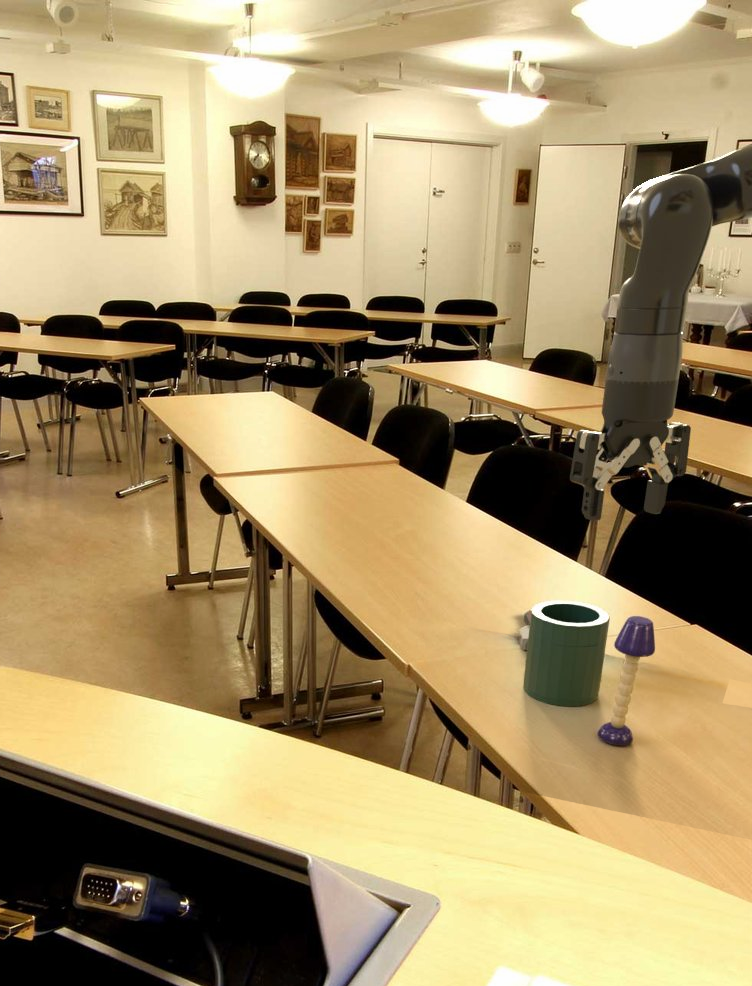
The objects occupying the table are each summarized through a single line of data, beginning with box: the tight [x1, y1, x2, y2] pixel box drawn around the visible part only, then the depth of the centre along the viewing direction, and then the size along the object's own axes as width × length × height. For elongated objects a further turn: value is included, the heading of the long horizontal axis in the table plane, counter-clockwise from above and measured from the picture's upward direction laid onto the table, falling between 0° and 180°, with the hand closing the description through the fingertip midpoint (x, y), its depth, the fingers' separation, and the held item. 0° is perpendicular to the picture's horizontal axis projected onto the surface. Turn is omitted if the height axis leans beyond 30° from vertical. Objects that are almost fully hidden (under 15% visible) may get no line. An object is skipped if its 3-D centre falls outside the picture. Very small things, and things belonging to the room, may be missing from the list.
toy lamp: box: [597, 615, 656, 746], centre depth 114 cm, size 5×5×17 cm
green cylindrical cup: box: [522, 600, 611, 707], centre depth 129 cm, size 10×10×12 cm
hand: (622, 516), depth 108 cm, fingers open, 8 cm apart
